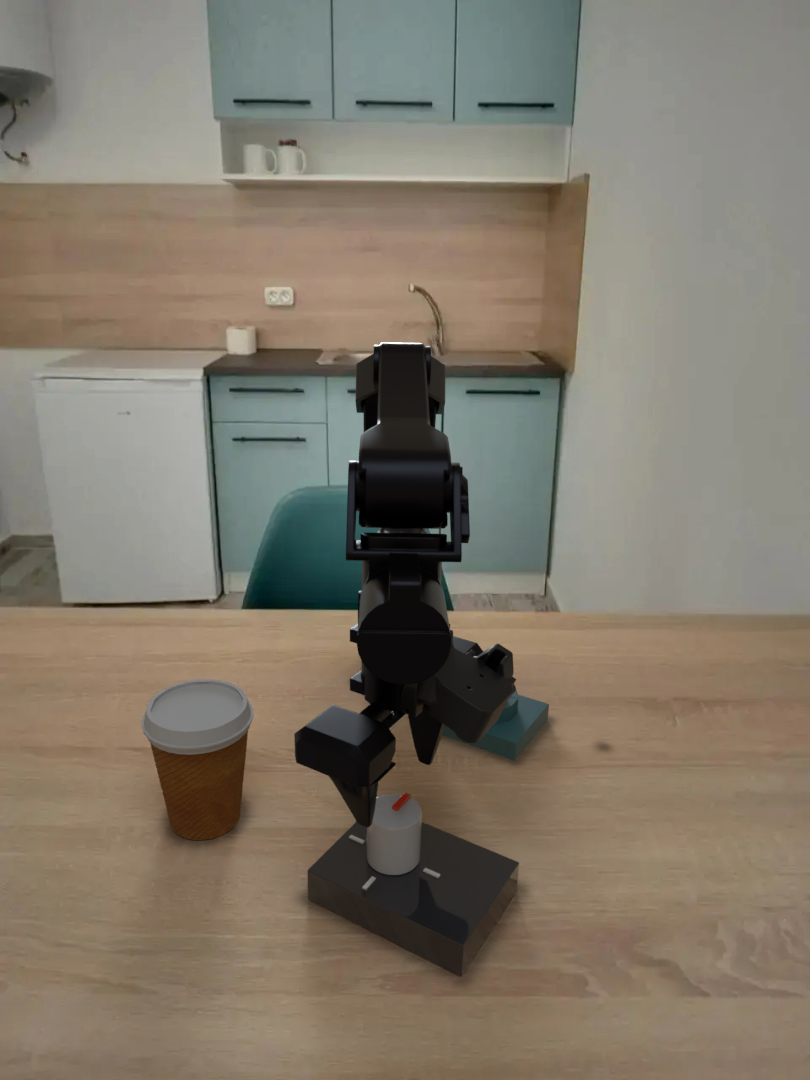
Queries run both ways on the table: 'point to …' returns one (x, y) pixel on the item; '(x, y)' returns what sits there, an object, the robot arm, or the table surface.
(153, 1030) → the table surface
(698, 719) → the table surface
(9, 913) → the table surface
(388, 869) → the hob knob
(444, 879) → the hob panel
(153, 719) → the disposable coffee cup
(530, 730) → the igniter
